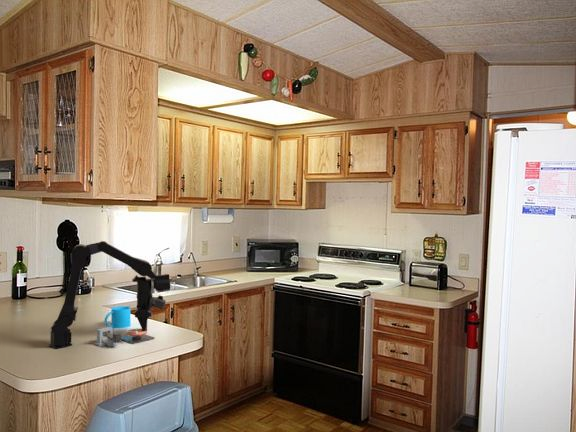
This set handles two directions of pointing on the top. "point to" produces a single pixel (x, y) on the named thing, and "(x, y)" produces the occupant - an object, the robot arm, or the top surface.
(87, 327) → the top surface
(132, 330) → the handwheel
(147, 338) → the wheel mount
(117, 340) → the hook rod
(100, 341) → the eye bracket
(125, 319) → the mug
